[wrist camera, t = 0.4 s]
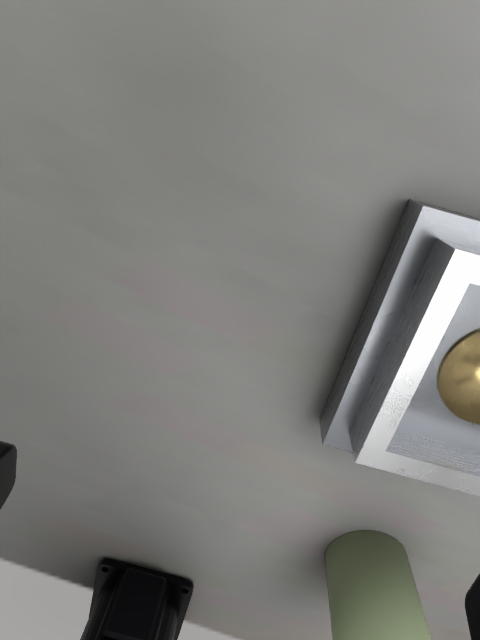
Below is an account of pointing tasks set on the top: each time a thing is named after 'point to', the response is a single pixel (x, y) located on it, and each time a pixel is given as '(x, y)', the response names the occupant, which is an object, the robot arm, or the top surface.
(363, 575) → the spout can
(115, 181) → the top surface
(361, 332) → the grey square holder
